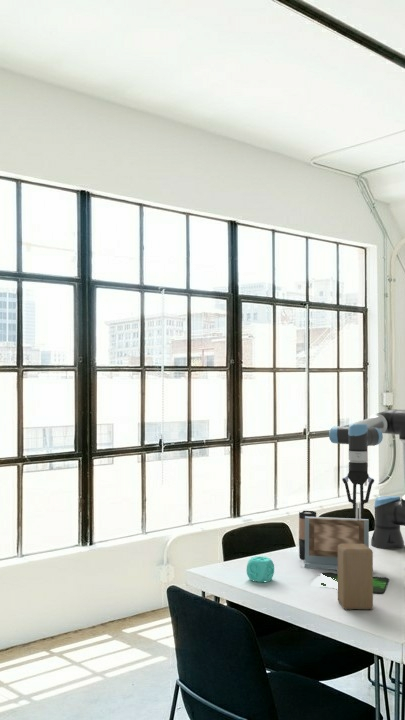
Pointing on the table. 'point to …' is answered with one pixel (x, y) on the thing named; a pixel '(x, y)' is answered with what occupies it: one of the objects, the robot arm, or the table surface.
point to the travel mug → (303, 531)
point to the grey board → (322, 560)
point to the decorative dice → (260, 569)
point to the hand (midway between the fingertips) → (358, 519)
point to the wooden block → (355, 576)
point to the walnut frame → (333, 535)
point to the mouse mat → (378, 582)
